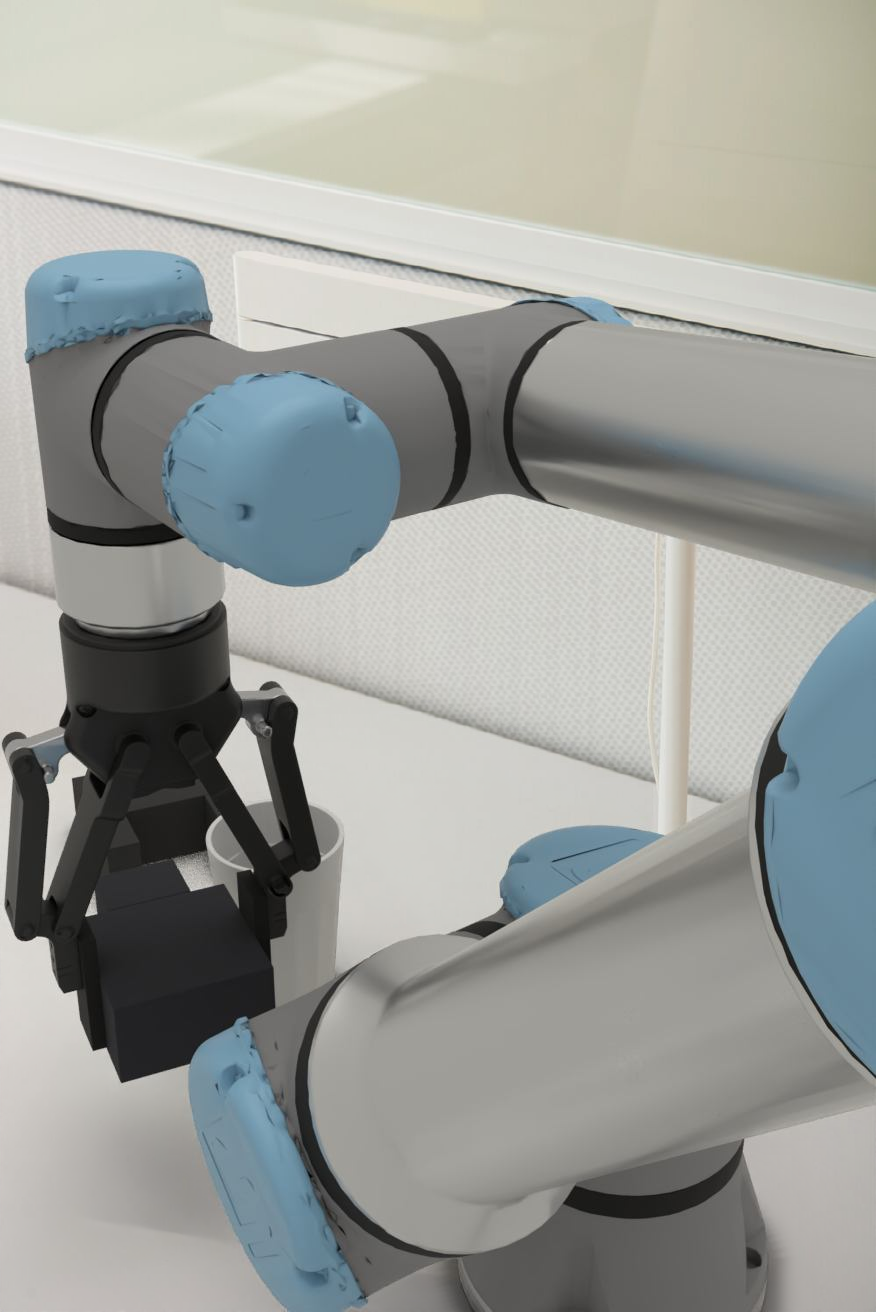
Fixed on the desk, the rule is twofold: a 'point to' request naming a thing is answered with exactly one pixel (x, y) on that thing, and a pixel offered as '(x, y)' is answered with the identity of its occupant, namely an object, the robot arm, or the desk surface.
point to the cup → (292, 898)
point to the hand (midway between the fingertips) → (177, 1010)
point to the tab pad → (172, 967)
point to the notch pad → (158, 826)
